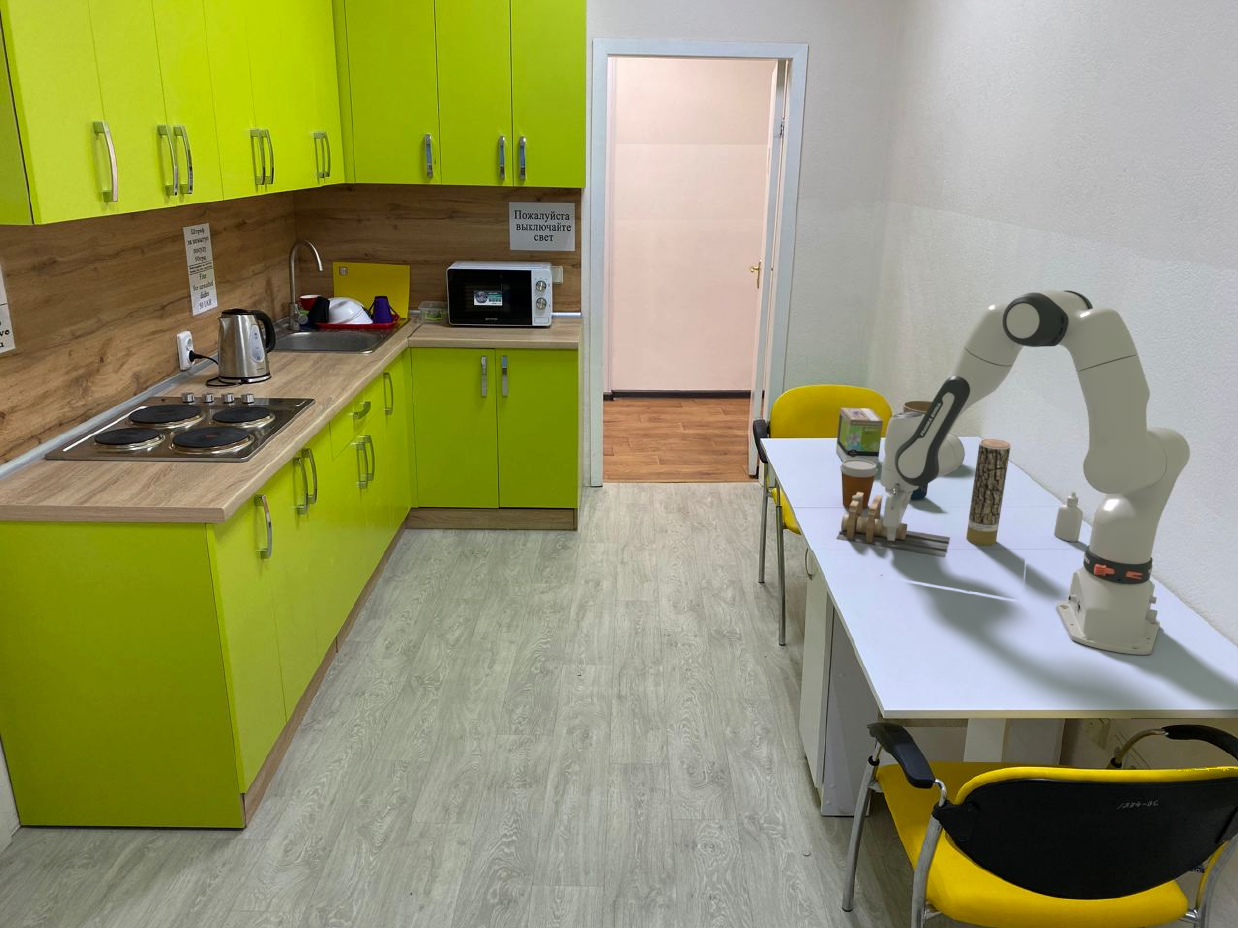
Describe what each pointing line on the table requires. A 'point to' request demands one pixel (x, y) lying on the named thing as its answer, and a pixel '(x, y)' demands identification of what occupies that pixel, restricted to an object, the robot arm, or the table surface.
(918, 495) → the soda can
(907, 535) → the collar stand
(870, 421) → the tea box
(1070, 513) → the eye dropper bottle
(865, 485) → the disposable coffee cup
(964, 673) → the table surface
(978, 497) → the paper tube
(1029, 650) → the table surface
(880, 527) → the wooden roller
